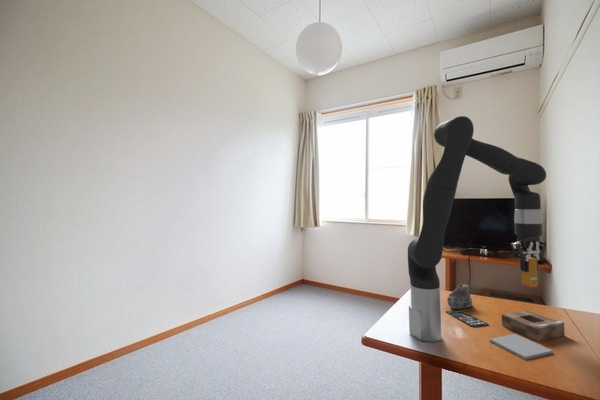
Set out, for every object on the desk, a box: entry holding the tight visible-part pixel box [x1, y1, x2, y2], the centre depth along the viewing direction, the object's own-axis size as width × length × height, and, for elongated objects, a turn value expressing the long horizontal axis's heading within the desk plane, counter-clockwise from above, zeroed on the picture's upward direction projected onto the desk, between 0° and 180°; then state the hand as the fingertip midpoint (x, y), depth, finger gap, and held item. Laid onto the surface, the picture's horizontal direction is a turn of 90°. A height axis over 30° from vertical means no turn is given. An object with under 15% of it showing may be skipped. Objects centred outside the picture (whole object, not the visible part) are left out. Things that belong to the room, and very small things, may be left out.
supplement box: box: [521, 257, 539, 288], centre depth 97 cm, size 3×3×10 cm
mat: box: [489, 333, 554, 360], centre depth 86 cm, size 11×11×1 cm
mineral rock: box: [446, 283, 473, 310], centre depth 120 cm, size 13×11×10 cm
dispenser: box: [501, 310, 566, 342], centre depth 96 cm, size 12×12×5 cm
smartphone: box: [445, 309, 490, 328], centre depth 108 cm, size 7×1×15 cm
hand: (529, 270), depth 97 cm, fingers closed on supplement box, 3 cm apart
